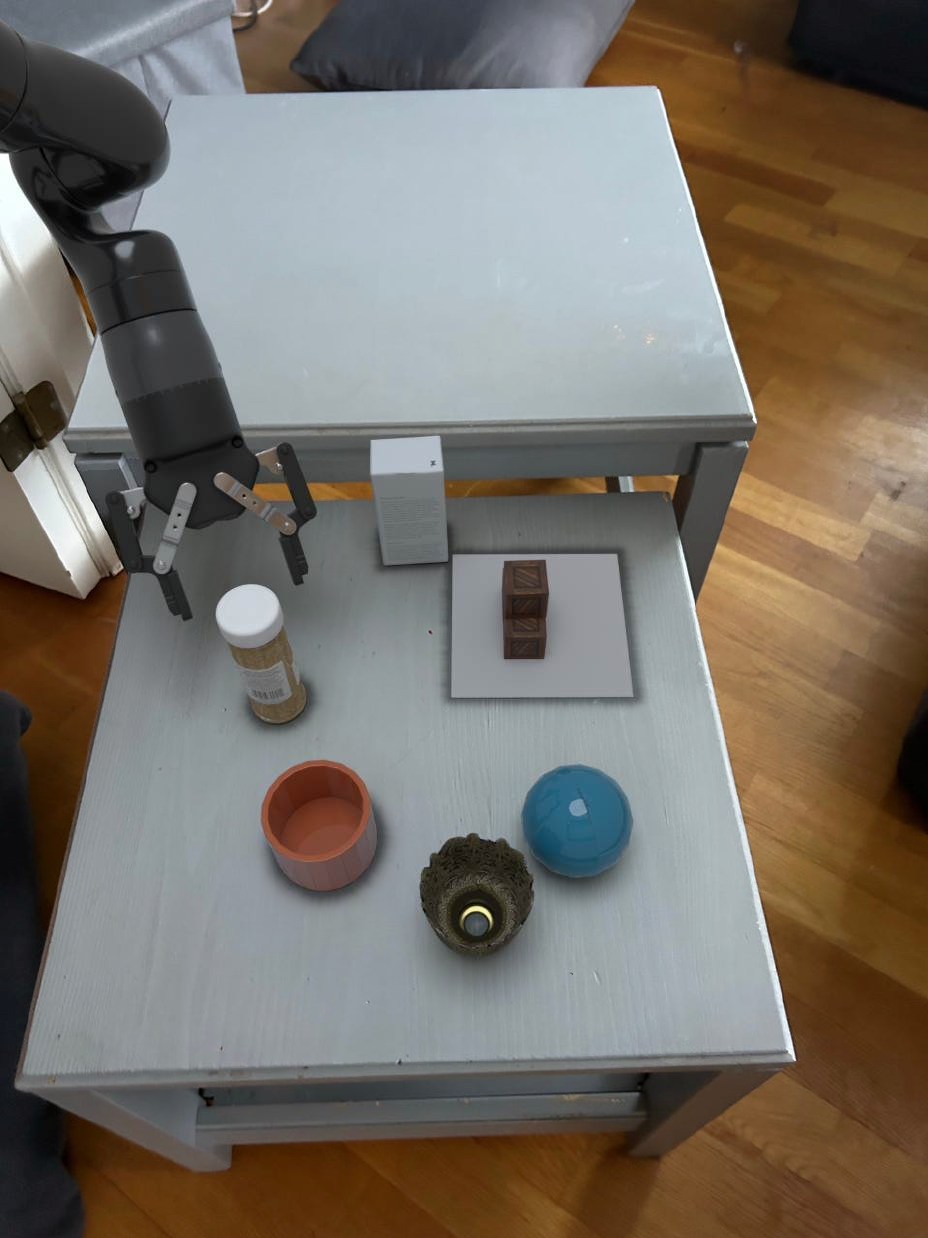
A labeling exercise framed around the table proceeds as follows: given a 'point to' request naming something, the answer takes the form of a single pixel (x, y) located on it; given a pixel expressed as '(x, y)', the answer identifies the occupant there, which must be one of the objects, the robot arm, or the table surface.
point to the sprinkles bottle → (262, 651)
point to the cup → (476, 893)
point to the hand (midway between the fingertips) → (244, 601)
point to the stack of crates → (538, 627)
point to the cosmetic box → (409, 499)
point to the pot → (320, 824)
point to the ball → (577, 821)
